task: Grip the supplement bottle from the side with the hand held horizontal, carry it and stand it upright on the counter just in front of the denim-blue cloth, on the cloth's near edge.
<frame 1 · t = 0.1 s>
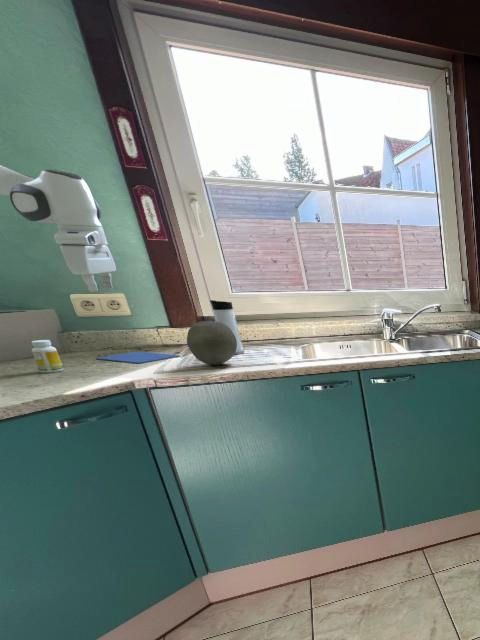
hand: (101, 290, 140), 26 cm above the worktop, tool pointing down, fingers open, 8 cm apart
cantaloupe: (218, 365, 171), on the worktop
travel mug: (233, 354, 189), on the worktop
supplement bottle: (52, 371, 156), on the worktop
blue cloth: (139, 357, 178), on the worktop
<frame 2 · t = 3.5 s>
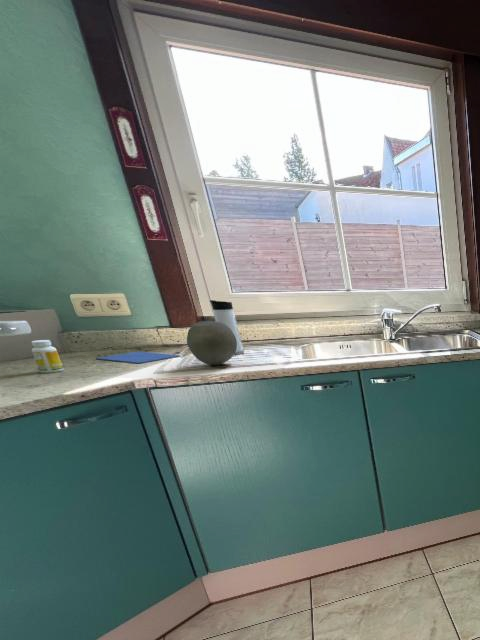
hand: (0, 327, 140), 16 cm above the worktop, tool horizontal, fingers open, 8 cm apart
nothing on the worktop moved.
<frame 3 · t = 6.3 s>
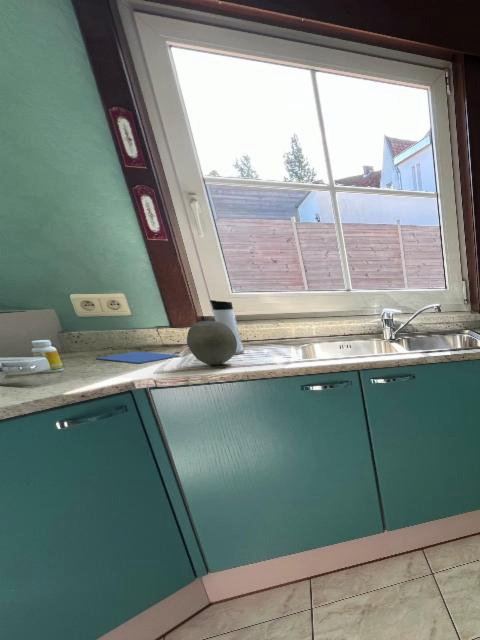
hand: (21, 360, 146), 5 cm above the worktop, tool horizontal, fingers open, 8 cm apart
nothing on the worktop moved.
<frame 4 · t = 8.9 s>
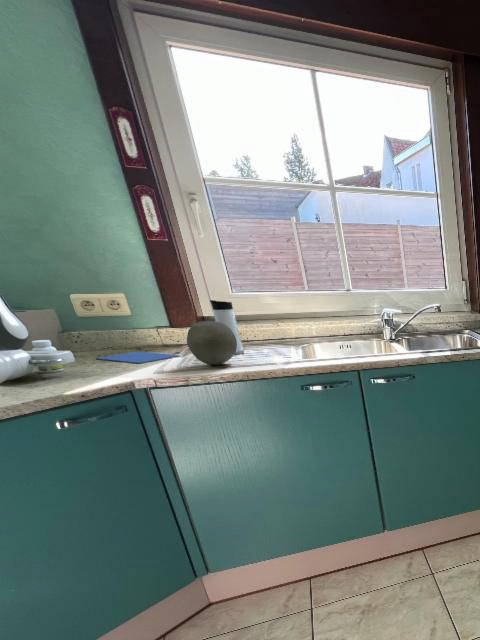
hand: (47, 353, 155), 6 cm above the worktop, tool horizontal, fingers closed on supplement bottle, 5 cm apart
supplement bottle: (52, 371, 156), on the worktop, touching gripper
everything else where it was.
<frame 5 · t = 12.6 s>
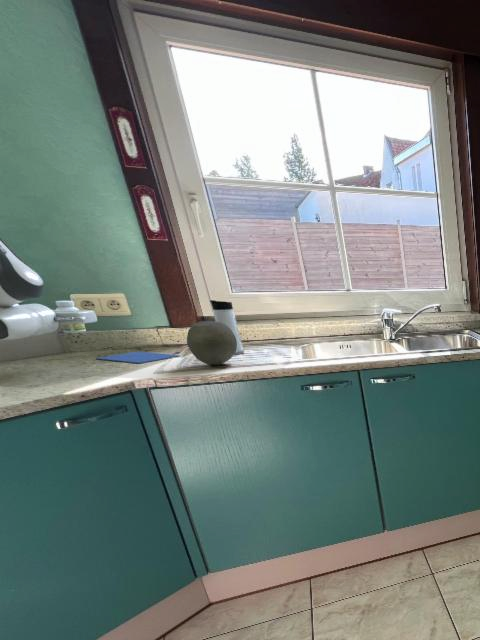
hand: (70, 314, 158), 17 cm above the worktop, tool horizontal, fingers closed on supplement bottle, 5 cm apart
supplement bottle: (75, 332, 160), point 11 cm above the worktop, touching gripper
everything else where it was.
when the fingers open (6 cm above the worktop, at t = 16.6 s): supplement bottle stays where it is, on the worktop.
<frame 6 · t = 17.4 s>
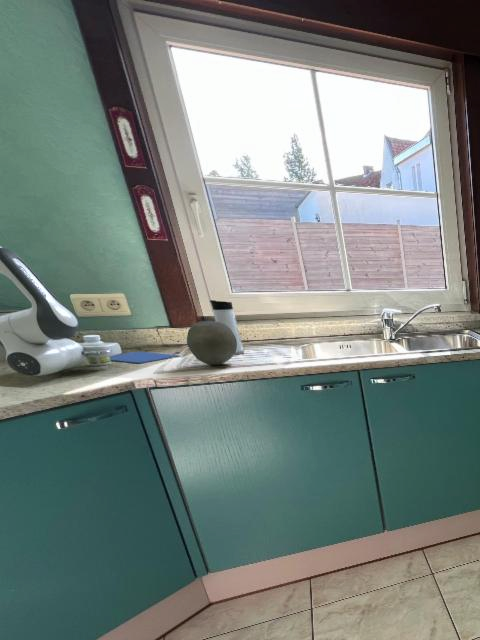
hand: (95, 345, 165), 6 cm above the worktop, tool horizontal, fingers open, 8 cm apart
supplement bottle: (101, 364, 167), on the worktop
everything else where it was.
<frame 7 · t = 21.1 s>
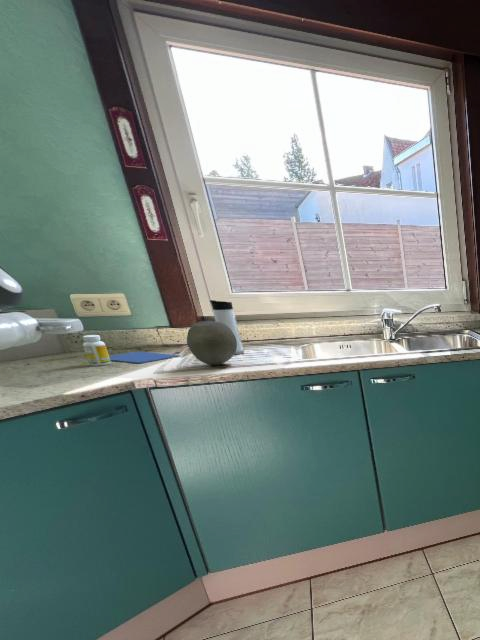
hand: (55, 322, 150), 16 cm above the worktop, tool horizontal, fingers open, 8 cm apart
nothing on the worktop moved.
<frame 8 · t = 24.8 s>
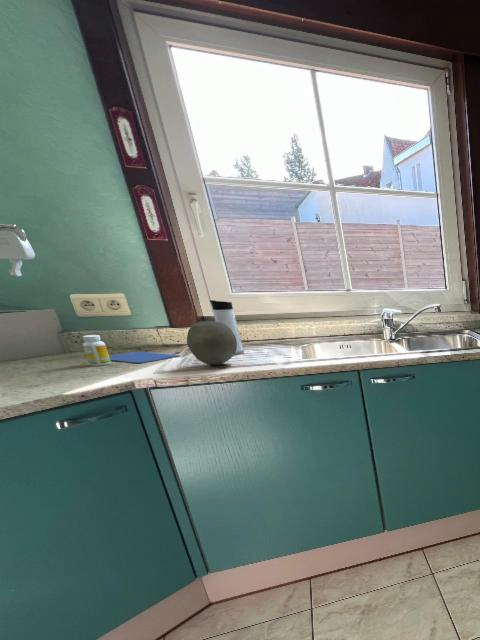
nothing on the worktop moved.
at the end: supplement bottle inside the target area on the worktop beside the blue cloth (0.3 cm from its centre), on the worktop; supplement bottle tilted 0°; the gripper is holding nothing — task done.
